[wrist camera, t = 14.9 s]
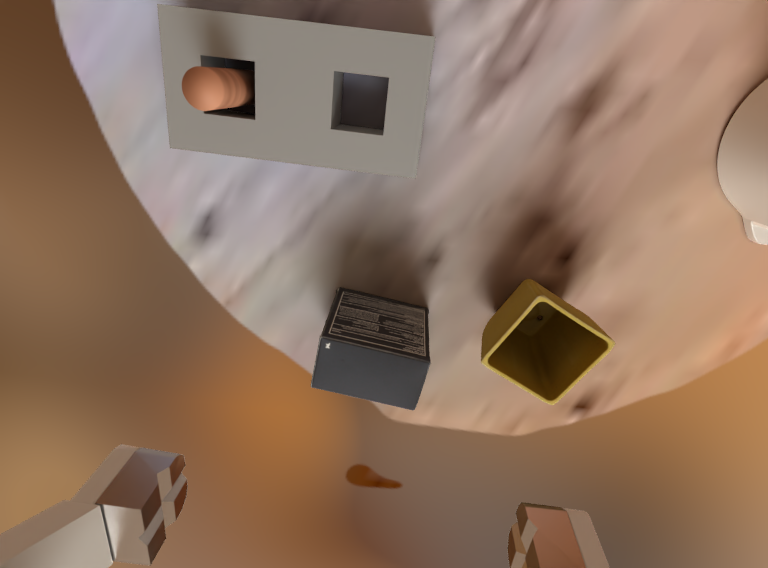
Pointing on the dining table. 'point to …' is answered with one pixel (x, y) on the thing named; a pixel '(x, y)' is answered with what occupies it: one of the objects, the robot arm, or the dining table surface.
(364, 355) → the small box
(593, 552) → the robot arm
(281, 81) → the hole block
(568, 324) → the flower pot
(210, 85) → the peg
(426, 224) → the dining table surface
